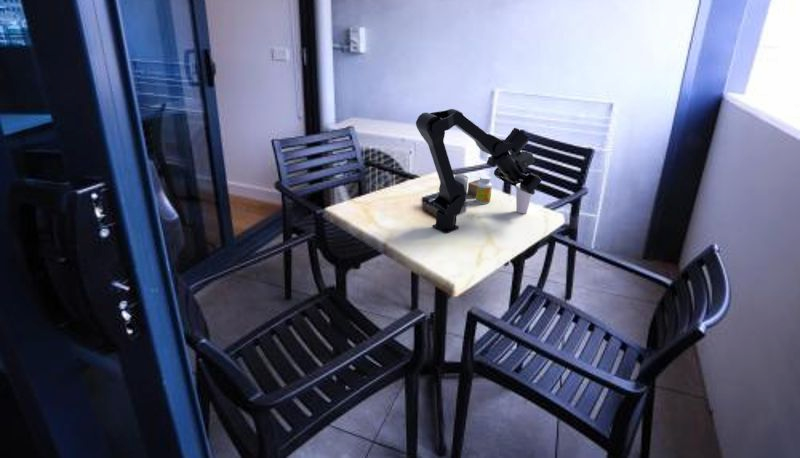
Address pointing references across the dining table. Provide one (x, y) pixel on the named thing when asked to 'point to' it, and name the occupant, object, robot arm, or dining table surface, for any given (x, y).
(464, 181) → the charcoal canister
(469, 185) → the walnut block
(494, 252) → the dining table surface
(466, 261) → the dining table surface
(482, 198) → the supplement bottle
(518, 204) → the smoothie
